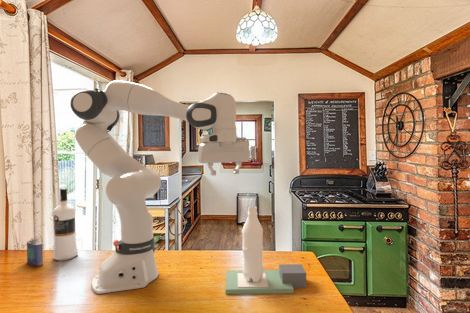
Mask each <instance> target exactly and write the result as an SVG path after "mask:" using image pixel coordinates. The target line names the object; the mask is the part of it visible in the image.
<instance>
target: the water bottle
mask: <svg viewBox="0 0 470 313" xmlns="http://www.w3.org/2000/svg"><path fill="white" fill-rule="evenodd" d="M257 210H258V207H257V206H254V205H252V206H251V205H250V206H248V207H247V218H246V220H245V222H244V224H243V227H242V230H241V233H242V248H241V250H242V253H243V264H242V268H241V269H242V270H243V275H244V278H245V280H246V281H250V279H251V278H252V280H253V282H258V281H259V279H261V278H262V276H263V270H264V266H263V251H264V245H263V244H264V243H263V241H264V238H263V237H264V236H263V234H264V228H263V225H262V224H261V223H260V220H259V218H258V215H259V214H258V211H257Z"/></svg>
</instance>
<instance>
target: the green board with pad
mask: <svg viewBox="0 0 470 313" xmlns="http://www.w3.org/2000/svg"><path fill="white" fill-rule="evenodd" d="M295 288H297V289H298V288H300V289H302V288H305V289H306V288H307V272H306V270H305V269H304V266H303V265H302V264H299V263H298V264H297V263H296V264H291V263H290V264H279V265H278V269H263V276H262V278H261V279H259V281H258V282H253V280H252V278H251V279H250V281H246V280H245V278H244V275H243V270H241V269H240V270H238V269H236V270H235V269H234V270H226V274H225V295H244V294H245V295H249V294H250V295H252V294H253V295H254V294H255V295H256V294H257V295H259V294H260V295H261V294H262V295H263V294H268V295H269V294H294V291H295Z"/></svg>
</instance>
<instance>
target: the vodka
mask: <svg viewBox="0 0 470 313" xmlns="http://www.w3.org/2000/svg"><path fill="white" fill-rule="evenodd" d="M59 197H60V198H59V199H60V204H58V205H57V206H56V207H55V208H54V209H53V210H52V216H53V217H52V219H53V241H54V242H53V243H54V244H53V245H54V247H53V248H54V249H53V253H52V254H53V255H52V258H53V260H56V261H67V260H71V259H73V258H74V259H75V257H77V256H78V253H79V249H78V246H77V241H76V240H77V238H76V237H77V235H76V234H77V232H76V208H75V207H74V206H73V205H72V204H71V203H70V204H69V203H68V188H60V189H59Z"/></svg>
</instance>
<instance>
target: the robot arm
mask: <svg viewBox="0 0 470 313" xmlns="http://www.w3.org/2000/svg"><path fill="white" fill-rule="evenodd" d="M236 106H237V105H236V99H235V98H234V97H233V96H232V95H231V94H230V93H226V92H216V93H215V92H214V93H213V94H212V95H211V96H210V97H208V98H206V99H204V100H201V101H198V102H193V103H191V104H190V105H188V104H184V103H181V102H177V101H175V100H172V99H170V98H168V97H167V96H165V95H163V94H161V93H160V92H158V91H156V90H155V89H153V88H151V87H148V86H146V85H144V84H140V83H136V82H131V81H126V80H125V81H124V80H113V81H110V82H109V83H108V84H107V85H106V87H105V89H104V90H103V89H101V88H99V87H98V88H97V87H96V88H92V89H83V90H79V91H77V92H75V93H74V94H73V96H72V97H71V99H70V108H71V111H72V112H73V113H74V115H76V116H77V118H79V119H82V120H83V122H82V125H80V126H79V127H78V128H77V129H76V130H75V136H74V138H75V141H76V142H77V144H78V145H79V147H80V149H81V150H82V151H83V153H84V154H85V155H86V156H87V157H88V159H89V160H90V161H91V162H92V163H93V164H94V165H95V166H96V168H97V169H98V170H99V172H101V173H102V174H104V175H105V176H109V177H111V179H109V180H108V182H107V183H106V187H105V194H106V197H107V200H109V202H110V203H112V204H113V205H114V207H115V208H116V210H117V213H118V216H119V221H120V237H121V238H120V240H119V239H114V240H113V243H112V244H113V246H114V248H115V251H114V252H113V253H112V254H111V255H109V257H108V258H106V259H105V260H104V261H102V263H101V265H100V266H99V271H98V274H96V275H95V276H94V277H93V279H92V281H91V290H92V291H93V293H95V294H97V295H99V294H106V293H115V292H122V291H130V290H134V289H142V288H146V286H148V285H149V283H151V282H153V281H154V280H156V279H157V278H158V277H159V271H158V267H157V262H156V258H155V256H156V255H155V250H156V241H155V236H154V221H153V220H154V217H153V215H152V213H150V212H149V211H148V207H147V203H146V200H147V199H149V198H151V197H153V196H154V195H155V194H157V192H159V191H160V189H161V186H162V178H161V177H160V174H158V173H157V172H156V171H154V170H152V169H149V168H148V167H147V166H145V165H144V164H142V163H141V162H139V161H138V160H137V159H135V158H134V157H132V156H131V155H130V154H129V153H128V152H127V151H126V150H125V149H124V148H123V146H121V145H120V144H119V142H117V141H116V139H114V137H112V135H111V134H110V132H111V131H112V130H113V128H114V127H115V126H116V125H117V124H118V122H119V120H120V116H121V115H120V111H125V112H128V113H132V114H136V115H142V116H160V117H171V118H175V119H179V120H182V121H186V122H187V123H189V125H190V126H192V127H193V128H195V129H199V130H201V131H205V132H208V131H212V132H211V133H208V134H205V135H202V136H200V138H199V141H200V144H199V146H198V149H197V161H198V163H200V164H206V166H207V168H208V169H209V171H210V175H211V176H212V177H213V176H216V175H217V170H214V168H213V166H214V164H219V163H221V164H222V163H235V165H236V166H235V168H233V172H232V173H233V175H238V174H240V169H241V166H242V163H243V162H245V163H246V162H249V161H250V159H251V152H250V141H249V139H248V138H246V137H243V136H242V137H239V136H238V137H237V126H236V119H237V107H236Z"/></svg>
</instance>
